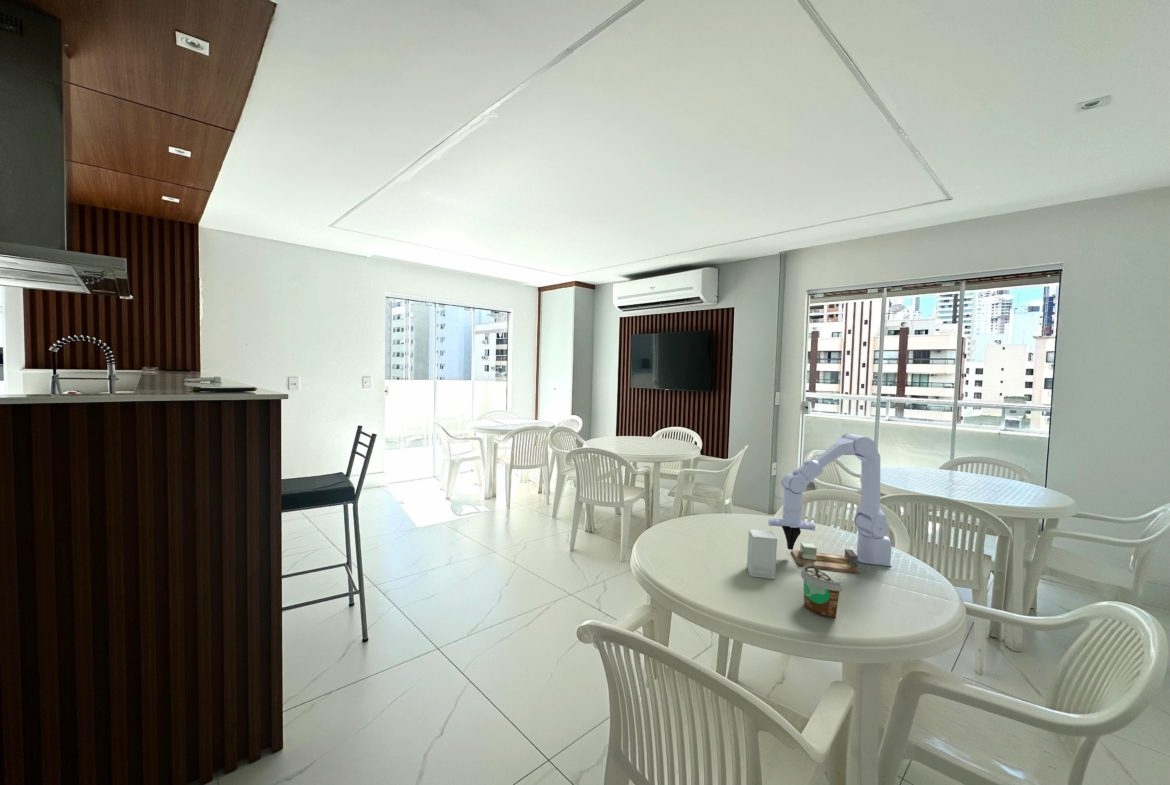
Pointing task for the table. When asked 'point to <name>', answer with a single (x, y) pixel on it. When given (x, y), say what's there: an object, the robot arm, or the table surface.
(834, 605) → the food container
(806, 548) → the block
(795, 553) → the track board
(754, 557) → the supplement box
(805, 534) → the table surface
